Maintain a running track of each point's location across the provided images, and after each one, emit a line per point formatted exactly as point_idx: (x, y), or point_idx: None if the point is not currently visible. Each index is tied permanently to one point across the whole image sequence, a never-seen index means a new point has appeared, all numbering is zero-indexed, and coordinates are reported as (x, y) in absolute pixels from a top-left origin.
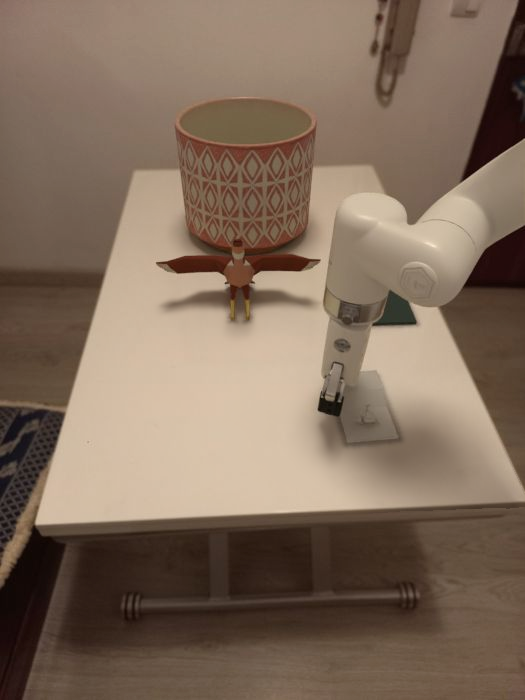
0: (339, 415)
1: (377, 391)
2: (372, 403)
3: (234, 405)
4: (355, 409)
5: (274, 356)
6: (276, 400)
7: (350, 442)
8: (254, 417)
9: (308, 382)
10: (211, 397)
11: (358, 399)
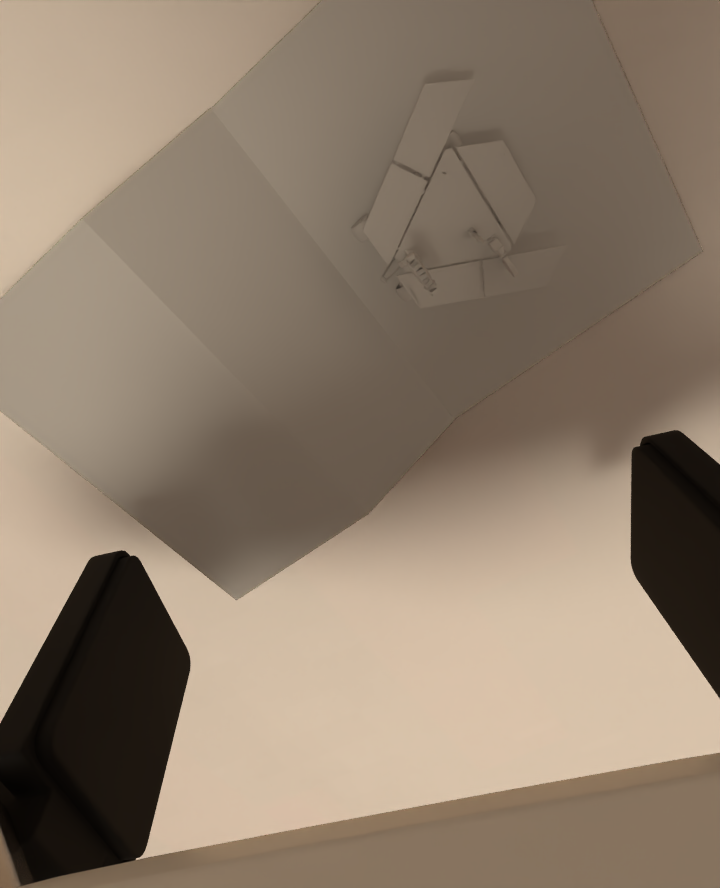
0: (681, 436)
1: (151, 253)
2: (269, 237)
3: None
4: (388, 327)
5: (279, 792)
6: (535, 681)
7: (692, 234)
8: (671, 700)
9: (339, 630)
10: None
11: (311, 352)
